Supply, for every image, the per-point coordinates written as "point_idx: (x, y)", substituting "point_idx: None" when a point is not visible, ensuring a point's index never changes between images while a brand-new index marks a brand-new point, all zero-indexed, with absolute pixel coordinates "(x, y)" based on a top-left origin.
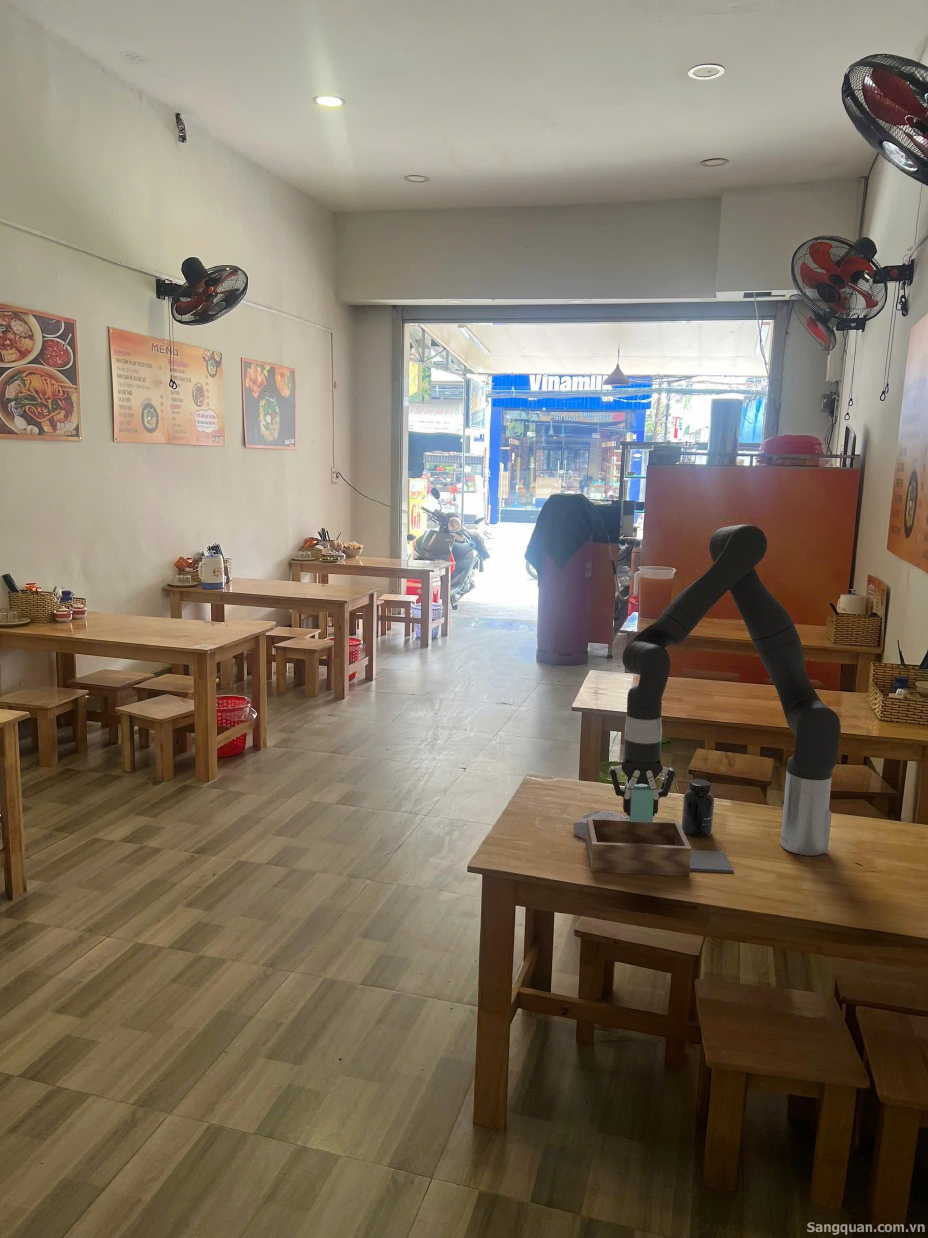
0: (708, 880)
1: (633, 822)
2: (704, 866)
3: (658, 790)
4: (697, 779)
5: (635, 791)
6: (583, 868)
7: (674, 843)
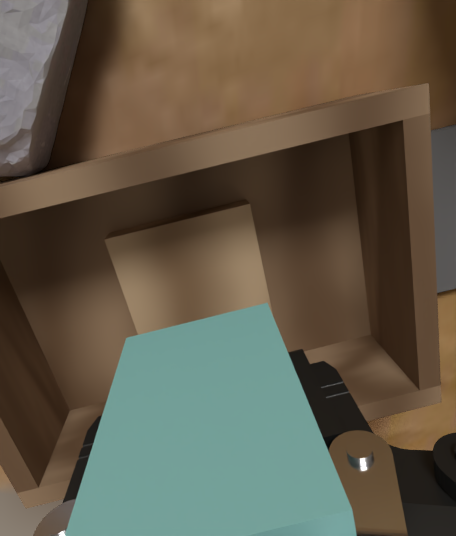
0: (439, 342)
1: (156, 178)
2: (446, 273)
3: (423, 519)
4: None
5: None
6: None
7: (356, 139)
